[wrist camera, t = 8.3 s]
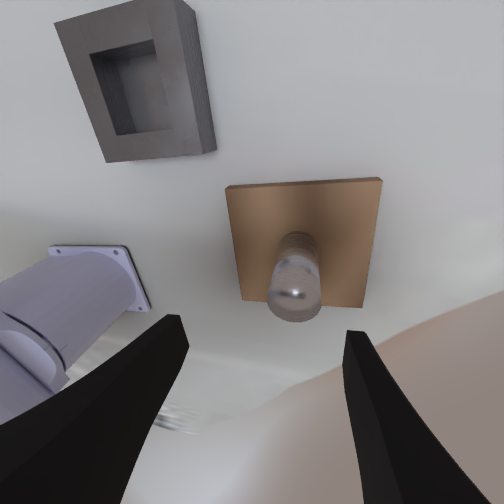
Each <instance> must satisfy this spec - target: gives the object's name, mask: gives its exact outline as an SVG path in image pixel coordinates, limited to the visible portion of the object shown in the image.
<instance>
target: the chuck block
mask: <svg viewBox="0 0 504 504" xmlns="http://www.w3.org/2000/svg"><path fill="white" fill-rule="evenodd" d="M54 25H55V28H56V31H57V33H58V36H59V39H60V41H61V44H62V46H63V49H64V52H65V54H66V57H67V60H68V62H69V65H70V68H71V70H72V73H73V76H74V78H75V81H76V84H77V86H78V89H79V92H80V94H81V97H82V100H83V102H84V105H85V108H86V110H87V113H88V115H89V118H90V121H91V123H92V126H93V129H94V131H95V134H96V137H97V139H98V142H99V145H100V147H101V150H102V153H103V155H104V158H105V161H106V163H112V162H123V161H134V160H144V159H155V158H166V157H176V156H187V155H198V154H204V153H207V152H211V151H214V150H217V147H216V141H215V135H214V129H213V123H212V116H211V110H210V104H209V98H208V91H207V85H206V79H205V73H204V67H203V60H202V54H201V48H200V42H199V35H198V29H197V23H196V17H195V11H194V10H193V9H192V8H191V7H190V6H189V5H187V4H186V3H185V2H184V1H183V0H133V1H129V2H126V3H122V4H119V5H115V6H112V7H108V8H105V9H101V10H98V11H94V12H91V13H87V14H84V15H80V16H77V17H73V18H70V19H66V20H63V21H59V22H56V23H54Z"/></svg>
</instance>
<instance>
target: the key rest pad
mask: <svg viewBox="0 0 504 504" xmlns="http://www.w3.org/2000/svg"><path fill="white" fill-rule="evenodd" d="M382 182H383V181H382V180H381V179H380V178H379V177H374V178H356V179H339V180H321V181H304V182H286V183H269V184H251V185H234V186H228V187H227V188H226V189H225V193H226V200H227V206H228V212H229V219H230V225H231V232H232V238H233V244H234V251H235V257H236V263H237V270H238V276H239V282H240V289H241V295H242V300H245V301H261V302H267V296H268V291H269V287H270V283H271V278H272V274H273V270H274V266H275V261H276V257H277V253H278V248H279V244H280V241H281V239H282V238H283V237H284V236H285V235H286V234H288V233H290V232H294V231H302V232H306V233H308V234H310V235H311V236H312V237H313V238H314V239H315V241H316V243H317V248H318V262H319V276H320V291H321V305H322V306H337V307H352V308H362V307H363V301H364V295H365V288H366V282H367V276H368V270H369V263H370V257H371V251H372V244H373V238H374V232H375V226H376V219H377V213H378V207H379V201H380V194H381V188H382Z"/></svg>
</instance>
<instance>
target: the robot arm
mask: <svg viewBox="0 0 504 504" xmlns="http://www.w3.org/2000/svg"><path fill="white" fill-rule="evenodd" d="M47 250H48V252H49V254H50V256H51V257H49V258H47V259H45V260H43V261H41V262H39V263H37V264H35V265H34V266H32V267H30V268H28V269H26V270H24V271H22V272H20V273H18V274H16V275H14V276H13V277H11V278H9V279H7V280H5V281H3V282H1V283H0V504H120V503H121V500H122V497H123V494H124V492H125V489H126V486H127V484H128V481H129V479H130V476H131V474H132V471H133V468H134V466H135V463H136V461H137V458H138V456H139V454H140V451H141V449H142V446H143V444H144V442H145V439H146V437H147V435H148V432H149V430H150V428H151V426H152V424H153V422H154V420H155V418H156V416H157V414H158V412H159V410H160V408H161V406H162V404H163V402H164V401H165V399H166V397H167V395H168V393H169V391H170V389H171V387H172V385H173V383H174V381H175V379H176V377H177V375H178V373H179V371H180V369H181V367H182V365H183V362H184V360H185V357H186V354H187V351H188V349H189V343H188V340H187V337H186V334H185V331H184V327H183V324H182V321H181V318H180V315H172V314H167V315H166V316H164V317H163V318H162V319H160V320H159V321H158V322H157V323H155V324H154V325H153V326H151V327H150V328H149V329H148V330H146V331H145V332H144V333H143V334H141V335H140V336H139V337H137V338H136V339H135V340H134V341H132V342H131V343H130V344H128V345H127V346H126V347H125V348H123V349H122V350H121V351H119V352H118V353H116V354H115V355H114V356H112V357H111V358H110V359H108V360H107V361H105V362H104V363H103V364H101V365H100V366H99V367H97V368H96V369H94V370H93V371H91V372H90V373H88V374H87V375H85V376H84V377H82V378H81V379H79V380H78V381H76V382H75V383H73V384H72V385H70V386H68V387H67V388H65V389H64V390H62V391H60V390H61V389H62V387H63V386H64V385H65V384H66V383H67V382H68V381H69V380H70V378H69V377H68V376H67V375H66V373H65V372H66V371H67V370H68V369H69V368H70V367H71V366H72V365H73V364H74V363H75V362H76V361H77V359H78V358H79V357H80V356H81V355H82V354H83V353H84V352H85V351H86V350H87V349H88V348H89V347H90V346H91V345H92V344H93V343H94V342H95V341H96V340H97V339H98V338H99V337H100V336H101V335H102V334H103V333H104V332H105V331H106V330H107V329H108V328H109V327H110V326H111V325H112V324H113V323H114V321H115V320H116V319H117V318H118V317H119V316H120V315H121V314H122V313H123V312H124V311H125V310H126V311H137V312H148V311H149V310H150V306H149V303H148V301H147V298H146V296H145V293H144V291H143V288H142V286H141V283H140V281H139V279H138V276H137V274H136V271H135V269H134V266H133V264H132V261H131V259H130V256H129V254H128V251H127V250H126V248H124V247H122V246H50V247H48V248H47ZM117 251H118V252H117ZM342 367H343V378H344V388H345V395H346V401H347V406H348V412H349V417H350V422H351V427H352V432H353V437H354V442H355V447H356V453H357V458H358V463H359V469H360V475H361V482H362V491H363V499H364V504H491V503H490V502H489V501H488V500H487V499H486V497H485V496H484V495H483V494H482V493H481V492H480V490H479V489H478V488H477V487H476V486H475V484H474V483H473V482H472V481H471V480H470V479H469V477H468V476H466V474H465V473H464V471H462V469H461V468H460V467H459V466H458V464H457V463H456V462H455V461H454V459H453V458H452V457H451V456H450V454H449V453H448V452H447V451H446V450H445V448H444V447H443V446H442V445H441V443H440V442H439V441H438V439H437V438H436V437H435V436H434V434H433V433H432V432H431V430H430V429H429V428H428V427H427V425H426V424H425V423H424V421H423V420H422V418H421V417H420V416H419V414H418V413H417V412H416V410H415V409H414V408H413V406H412V405H411V403H410V402H409V401H408V399H407V398H406V396H405V395H404V394H403V392H402V391H401V389H400V388H399V386H398V385H397V383H396V382H395V380H394V379H393V377H392V376H391V374H390V373H389V371H388V370H387V368H386V366H385V365H384V363H383V362H382V360H381V358H380V357H379V355H378V353H377V352H376V350H375V348H374V346H373V345H372V343H371V341H370V339H369V337H368V336H367V334H366V333H365V332H363V331H352V330H347V334H346V341H345V348H344V356H343V363H342Z"/></svg>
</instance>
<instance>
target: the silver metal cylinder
mask: <svg viewBox="0 0 504 504" xmlns="http://www.w3.org/2000/svg"><path fill="white" fill-rule="evenodd" d="M267 303H268V306H269V308H270V310H271V311H272V312H273V313H274V314H275V315H276V316H277V317H279V318H281V319H283V320H286V321H290V322H304V321H307V320H310V319H312V318H313V317H315V316H316V315H317V314H318V312H319V311H320V308H321V291H320V276H319V262H318V248H317V243H316V241H315V239H314V238H313V237H312V236H311V235H310V234H308V233H306V232H302V231H294V232H290V233H288V234H286V235H285V236H284V237H283V238H282V239H281V241H280V244H279V248H278V253H277V257H276V261H275V266H274V270H273V274H272V278H271V283H270V287H269V291H268V296H267Z"/></svg>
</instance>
